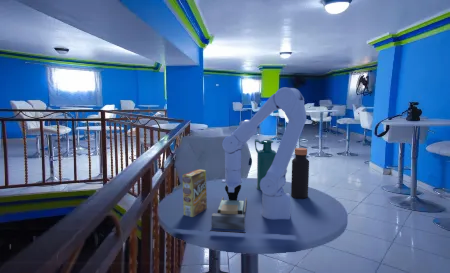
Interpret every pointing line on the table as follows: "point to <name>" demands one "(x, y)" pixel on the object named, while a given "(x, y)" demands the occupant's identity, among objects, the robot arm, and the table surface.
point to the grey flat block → (231, 202)
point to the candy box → (194, 192)
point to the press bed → (229, 220)
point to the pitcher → (264, 159)
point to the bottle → (300, 174)
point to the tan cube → (229, 209)
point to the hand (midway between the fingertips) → (233, 205)
